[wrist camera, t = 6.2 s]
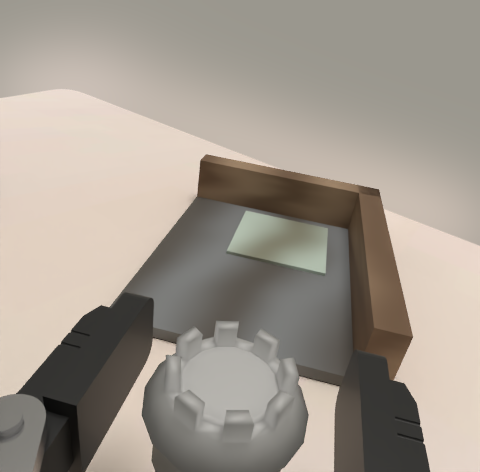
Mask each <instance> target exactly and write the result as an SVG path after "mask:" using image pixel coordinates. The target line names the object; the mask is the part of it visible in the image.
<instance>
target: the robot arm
mask: <svg viewBox="0 0 480 472" xmlns="http://www.w3.org/2000/svg"><path fill="white" fill-rule="evenodd" d="M153 316H154V300H153V298H150V297H146V296H142V295H138V294H134V293H130V292H124V293H123V294H122V295H121V296H120V298H119V299H118V300H117V301H116V303H115V304H114V305H113V307H112V308H109V307H106V306H102V305H101V306H99V307H98V308H96V309H94V310H93V311H91V312H89V313H87V314H86V315H84V316H83V317H82V318H81V319H80V320H79V322H78V323H77V324H76V325H75V326H74V327H73V329H72V330H71V333H68V335H67V336H66V337H65V338H64V339H63V340H62V342H61V344H60V345H58V346H57V347H56V349H55V350H54V351H53V352H52V353H51V354H50V356H49V357H48V358H47V359H46V360H45V361H44V363H43V364H42V365H41V366H40V367H39V368H38V370H37V371H36V372H35V373H34V374H33V375H32V377H31V378H30V379H29V380H28V381H27V382H26V384H25V385H24V386H23V387H22V388H21V389H20V390H19V391H18V392H17V393H16V394H13V395H7V396H3V397H0V472H85V471H86V469H87V467H88V465H89V463H90V462H91V460H92V458H93V456H94V455H95V453H96V451H97V449H98V447H99V446H100V444H101V442H102V440H103V438H104V437H105V435H106V433H107V431H108V430H109V428H110V426H111V424H112V422H113V421H114V419H115V417H116V415H117V413H118V412H119V410H120V408H121V406H122V404H123V403H124V401H125V399H126V397H127V396H128V394H129V392H130V390H131V388H132V387H133V385H134V383H135V381H136V379H137V378H138V376H139V374H140V372H141V371H142V369H143V367H144V365H145V363H146V361H147V359H148V356H149V353H150V350H151V346H152V339H153ZM423 441H424V438H423V433H422V428H421V427H420V418H419V413H418V408H417V403H416V401H415V400H414V398H413V397H412V395H411V393H410V392H409V390H408V389H407V387H406V385H405V384H404V383H401V382H397V381H393V380H390V378H389V371H388V363H387V359H386V357H385V356H381V355H377V354H373V353H369V352H365V351H361V350H357V349H355V350H354V352H353V354H352V356H351V359H350V362H349V364H348V367H347V370H346V373H345V375H344V378H343V381H342V383H341V386H340V389H339V392H338V396H337V401H336V407H335V443H334V472H430V468H429V463H428V458H427V453H426V448H425V445H424V444H423Z"/></svg>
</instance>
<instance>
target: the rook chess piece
mask: <svg viewBox="0 0 480 472" xmlns="http://www.w3.org/2000/svg"><path fill="white" fill-rule="evenodd" d="M238 325H239V321H216V325H215V332H214V337H211V338H208V339H204V340H202V336H203V334H202V333H201V332H200V331H199V330H198V329H197V328H196V327H195V326H194V327H193V328H191V329H189V330H188V331H186V332H185V333H183V334H182V335H180V336H179V337H177V344H176V353H175V354H173V355H172V356H171V355H166V360H165V361H163V362H162V363H160V364H159V366H158V367H157V369H156V370H155V372H154V374H153V375H152V377H151V378H150V380H149V381H148V383H147V385H146V386H145V391H144V400H143V409H142V417H143V420H144V422H145V425H146V428H147V431H148V433H149V436H150V439H151V441H152V444H153V451H152V463H153V466H154V469H155V472H280V471H281V469H282V468H284V467H285V466H286V465H287V463H288V462H289V461H290V460H291V458H292V457H293V456H294V454H295V453H296V452H297V451H298V449H299V448H300V447H301V445H302V444H303V443H304V437H305V432H306V426H307V420H308V411H307V408H306V404H305V400H304V397H303V393H302V390H301V387H300V386H299V385H298V381H299V374H298V370H297V367H296V363H295V360H294V357H293V358H286V359H280V360H279V359H278V358H277V357H276V356H277V352H278V348H279V344H280V340H279V339H277V338H276V337H274V336H272V335H271V334H269V333H268V332H266V331H265V330H263V329H262V328H261V329H260V331H259V332H258V333H257V334H256V336H255V340H254V343H252V342H249V341H246V340H243V339H240V338H237V332H238Z"/></svg>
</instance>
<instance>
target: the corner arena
mask: <svg viewBox="0 0 480 472" xmlns="http://www.w3.org/2000/svg"><path fill="white" fill-rule="evenodd" d="M124 292H130V293H134V294H138V295H142V296H146V297H150V298H153V300H154V316H153V337H155V338H158V339H162V340H166V341H170V342H174V343H177V337H179V336H180V335H182V334H183V333H185V332H186V331H188V330H189V329H191V328H193V327H194V326H195V327H196V328H197V329H198V330H199V331H200V332H201V333H202V334H203V336H202V340H204V339H208V338H211V337H214V332H215V325H216V321H239V325H238V332H237V338H240V339H243V340H246V341H249V342H252V343H254V340H255V336H256V334H257V333H258V332H259V331H260V329H261V328H262V329H263V330H265V331H266V332H268V333H269V334H271V335H272V336H274V337H276V338H277V339H279V340H280V344H279V348H278V352H277V356H276V357H277V358H278V359H279V360H280V359H286V358H293V357H294V360H295V363H296V367H297V370H298V374H299V375H300V376H304V377H308V378H312V379H316V380H320V381H323V382H327V383H331V384H335V385H339V386H341V383H342V381H343V378H344V375H345V373H346V370H347V367H348V364H349V362H350V359H351V356H352V354H353V352H354V350H355V349H357V350H361V351H365V352H369V353H373V354H377V355H381V356H385V357H386V359H387V363H388V371H389V378H390V380H394V378H395V376H396V373H397V371H398V369H399V367H400V365H401V362H402V360H403V358H404V356H405V354H406V351H407V349H408V347H409V345H410V343H411V340H412V338H413V335H412V331H411V326H410V322H409V318H408V313H407V309H406V305H405V300H404V296H403V292H402V287H401V283H400V279H399V274H398V270H397V266H396V261H395V257H394V253H393V248H392V244H391V240H390V235H389V231H388V227H387V222H386V218H385V214H384V209H383V205H382V201H381V197H380V192H379V189H374V188H369V187H364V186H359V185H354V184H349V183H344V182H339V181H334V180H329V179H325V178H320V177H314V176H310V175H305V174H300V173H295V172H290V171H285V170H280V169H275V168H271V167H266V166H261V165H256V164H251V163H246V162H241V161H236V160H231V159H226V158H221V157H216V156H211V155H207V154H206V155H205V156H204V157H203V158H202V159H201V162H200V172H199V183H198V194H197V197H196V199H195V200H194V201H193V203H192V204H191V205H190V206H189V208H188V209H187V210H186V211H185V213H184V214H183V215H182V216H181V218H180V219H179V220H178V221H177V223H176V224H175V225H174V227H173V228H172V229H171V230H170V232H169V233H168V234H167V235H166V237H165V238H164V239H163V240H162V242H161V243H160V244H159V246H158V247H157V248H156V249H155V251H154V252H153V253H152V254H151V256H150V257H149V258H148V259H147V261H146V262H145V263H144V264H143V266H142V267H141V268H140V270H139V271H138V272H137V273H136V275H135V276H134V277H133V278H132V280H131V281H130V282H129V283H128V285H127V286H126V287H125V288H124V290H123V291H122V292H121V294H120V295H119V296H118V297H117V299H116V300H115V301H114V302H113V304H112V305H111V306H110V307H109V308H112V307H113V305H114V304H115V303H116V301H117V300H118V299H119V298H120V296H121V295H122V294H123V293H124Z"/></svg>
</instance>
